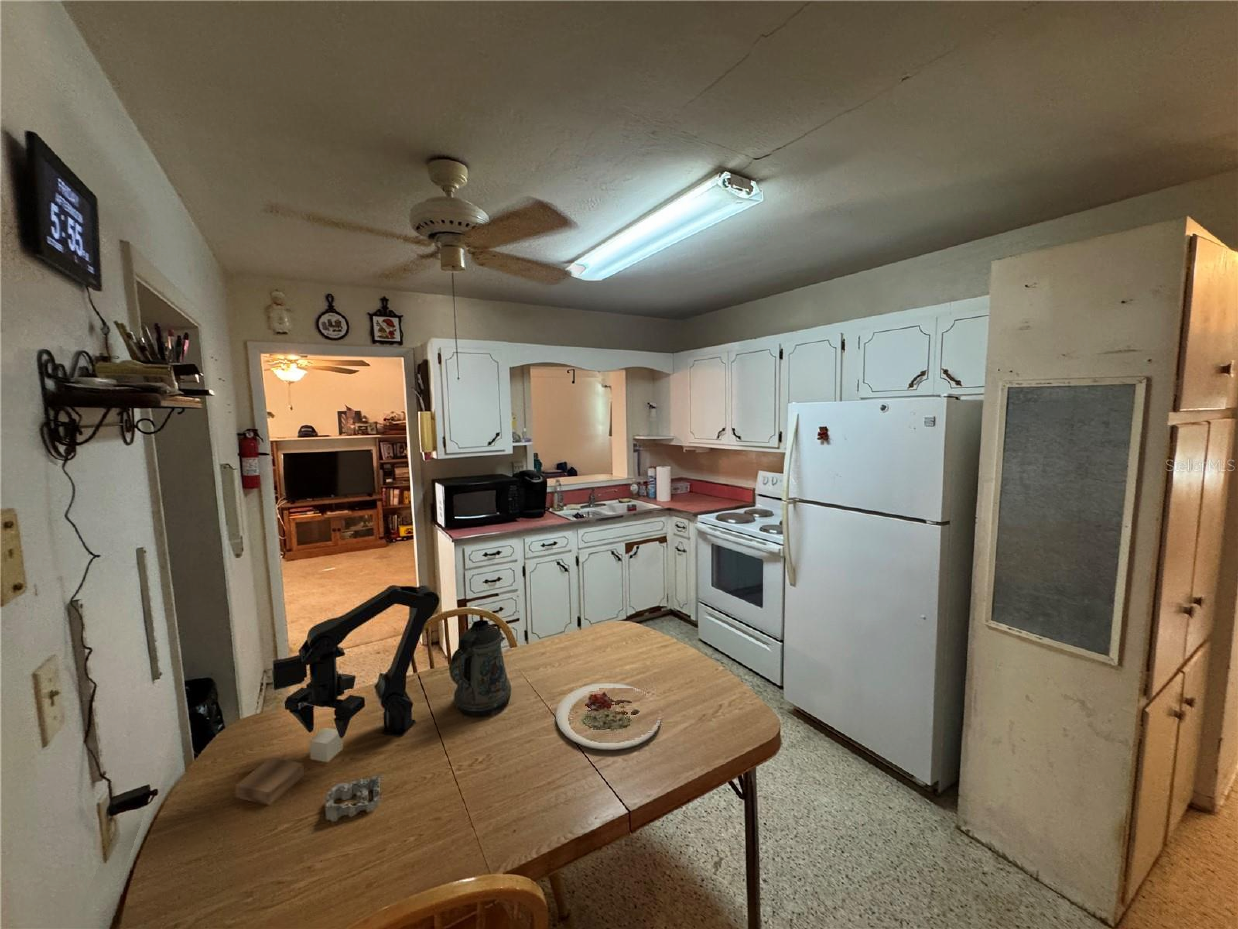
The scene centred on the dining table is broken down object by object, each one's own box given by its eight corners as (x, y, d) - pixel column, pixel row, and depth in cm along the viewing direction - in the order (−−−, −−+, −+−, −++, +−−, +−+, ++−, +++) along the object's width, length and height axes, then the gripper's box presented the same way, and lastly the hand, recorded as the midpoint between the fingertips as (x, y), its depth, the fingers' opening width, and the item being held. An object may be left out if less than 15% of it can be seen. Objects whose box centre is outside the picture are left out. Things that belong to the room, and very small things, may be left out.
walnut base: (303, 775, 116) (303, 763, 115) (269, 805, 107) (268, 792, 107) (272, 769, 117) (271, 757, 117) (236, 797, 109) (235, 785, 108)
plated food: (618, 772, 119) (618, 760, 119) (533, 723, 137) (533, 712, 137) (680, 714, 143) (680, 703, 143) (601, 678, 161) (601, 668, 161)
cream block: (342, 749, 125) (342, 730, 124) (327, 762, 120) (326, 743, 120) (326, 745, 126) (325, 727, 125) (310, 759, 121) (309, 740, 121)
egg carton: (322, 826, 102) (321, 808, 102) (330, 799, 109) (329, 782, 109) (378, 812, 106) (378, 795, 106) (382, 787, 113) (381, 770, 113)
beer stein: (515, 686, 155) (515, 611, 152) (503, 726, 135) (502, 640, 133) (463, 686, 154) (462, 610, 151) (443, 725, 135) (441, 639, 132)
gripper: (378, 664, 127) (381, 720, 129) (317, 655, 131) (320, 710, 132) (346, 687, 116) (349, 748, 118) (281, 677, 120) (284, 736, 121)
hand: (326, 734), depth 123 cm, fingers open, 9 cm apart
